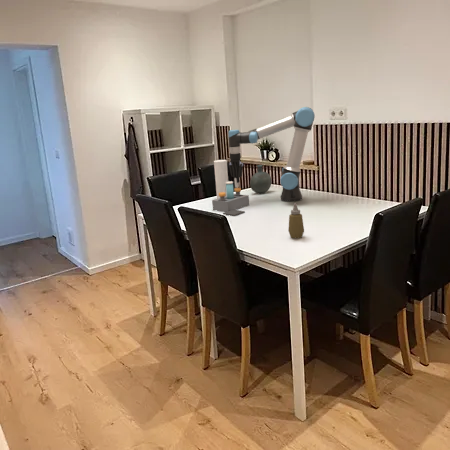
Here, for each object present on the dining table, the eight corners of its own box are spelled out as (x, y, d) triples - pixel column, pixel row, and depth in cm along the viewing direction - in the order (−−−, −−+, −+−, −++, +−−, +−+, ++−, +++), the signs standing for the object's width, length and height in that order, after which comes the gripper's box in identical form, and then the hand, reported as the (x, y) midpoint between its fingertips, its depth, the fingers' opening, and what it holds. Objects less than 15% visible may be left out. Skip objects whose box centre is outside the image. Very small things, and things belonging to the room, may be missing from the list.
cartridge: (236, 207, 304) (234, 181, 299) (231, 208, 300) (229, 182, 295) (230, 206, 307) (229, 181, 303) (225, 208, 304) (223, 182, 299)
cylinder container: (228, 201, 324) (225, 160, 316) (215, 201, 326) (212, 161, 318) (230, 198, 333) (227, 158, 325) (218, 199, 335) (215, 159, 327)
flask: (250, 192, 349) (248, 165, 343) (271, 191, 349) (270, 163, 343) (251, 195, 338) (249, 167, 332) (273, 193, 337) (271, 165, 332)
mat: (244, 212, 287) (244, 211, 287) (234, 216, 280) (234, 214, 280) (233, 211, 294) (233, 209, 293) (223, 214, 287) (223, 213, 286)
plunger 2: (243, 200, 309) (242, 188, 306) (238, 202, 305) (237, 189, 303) (238, 200, 312) (237, 187, 309) (233, 201, 308) (232, 188, 306)
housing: (249, 205, 307) (248, 195, 305) (228, 212, 291) (227, 202, 290) (234, 203, 316) (233, 193, 314) (212, 210, 301) (212, 200, 299)
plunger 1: (227, 205, 297) (226, 192, 295) (223, 207, 294) (222, 193, 292) (222, 204, 300) (221, 191, 298) (218, 206, 297) (217, 193, 295)
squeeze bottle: (287, 235, 231) (285, 202, 226) (302, 234, 232) (301, 201, 227) (290, 240, 223) (289, 205, 219) (306, 238, 224) (305, 204, 219)
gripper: (224, 153, 301) (226, 187, 308) (238, 153, 293) (240, 188, 299) (231, 152, 307) (233, 185, 313) (245, 152, 298) (247, 186, 304)
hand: (237, 187), depth 306 cm, fingers closed
